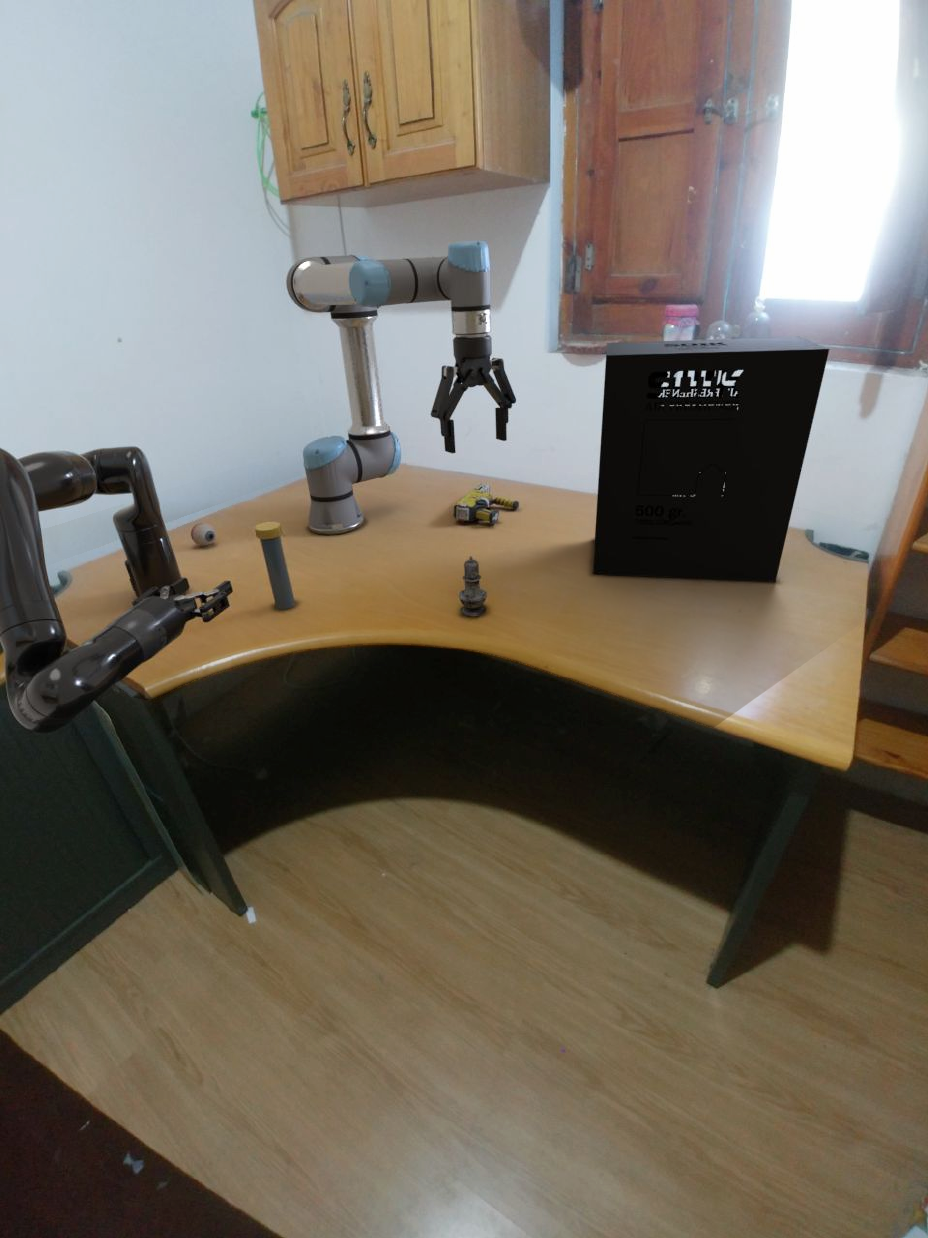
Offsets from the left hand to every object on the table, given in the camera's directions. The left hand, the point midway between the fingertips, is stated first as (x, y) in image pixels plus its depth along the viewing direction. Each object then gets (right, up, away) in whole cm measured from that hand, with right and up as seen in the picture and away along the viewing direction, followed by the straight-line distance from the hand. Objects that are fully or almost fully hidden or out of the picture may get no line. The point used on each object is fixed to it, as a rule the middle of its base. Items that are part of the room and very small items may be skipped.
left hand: (207, 583), depth 104 cm
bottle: (+6, -3, +26) cm, 26 cm away
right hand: (+47, +31, +24) cm, 61 cm away
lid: (+5, +12, +17) cm, 21 cm away
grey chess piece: (+46, -4, +19) cm, 50 cm away
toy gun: (+52, +25, +69) cm, 90 cm away
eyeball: (-25, +14, +58) cm, 64 cm away
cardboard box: (+93, +8, +35) cm, 100 cm away
